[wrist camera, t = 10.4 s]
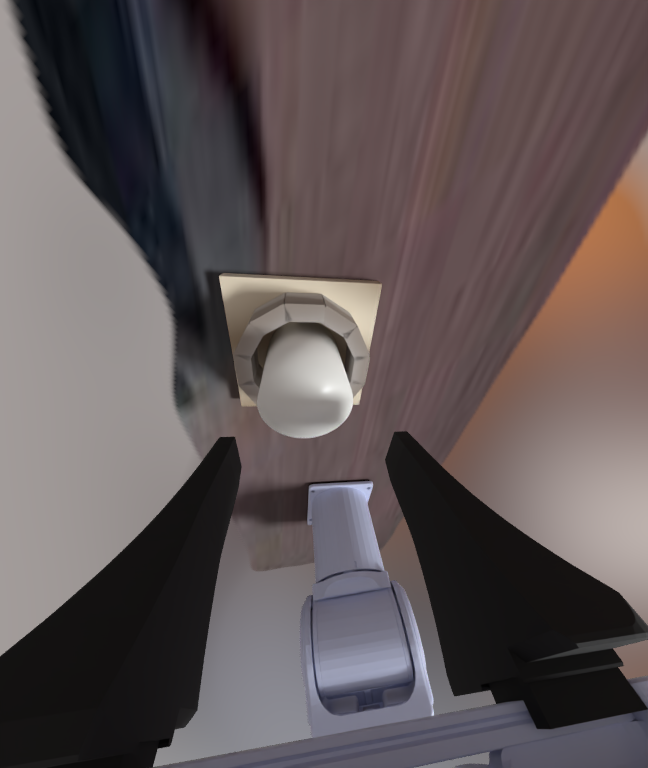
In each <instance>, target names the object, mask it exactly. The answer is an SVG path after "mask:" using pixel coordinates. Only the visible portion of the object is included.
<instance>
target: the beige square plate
mask: <svg viewBox="0 0 648 768" xmlns="http://www.w3.org/2000/svg"><path fill="white" fill-rule="evenodd" d="M219 279H220V285H221V291H222V297H223V302H224V308H225V314H226V319H227V325H228V331H229V336H230V342H231V348H232V354H233V359H234V365H235V371H236V376H237V382H238V388H239V393H240V399H241V405H242V406H257V399H258V393H259V389H260V384H261V379H262V375H263V370H264V365H265V361H266V356H267V351H268V347H269V343H270V340H271V337H272V336H273V334H274V333H275V332H276V330H277V329H278V328H280V327H281V326H282V325H284V324H286V323H288V322H317V323H319V324H321V325H323V326H324V327H326V328H327V329H328V330H329V331H330V333H331V334H332V336H333V337H334V339H335V342H336V345H337V348H338V351H339V354H340V357H341V360H342V363H343V366H344V369H345V372H346V375H347V378H348V381H349V384H350V387H351V390H352V394H353V405H359V401H360V396H361V391H362V387H363V386H364V385H365V381H366V376H367V371H368V366H369V360H370V354H369V350H370V344H371V339H372V334H373V329H374V324H375V318H376V313H377V308H378V303H379V298H380V293H381V287H382V284H381V283H380V282H379V281H371V280H351V279H331V278H312V277H292V276H273V275H253V274H233V273H222V274H221V275H220V276H219Z"/></svg>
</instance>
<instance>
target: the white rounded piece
mask: <svg viewBox="0 0 648 768" xmlns="http://www.w3.org/2000/svg"><path fill="white" fill-rule="evenodd" d="M257 406H258V411H259V413H260V416H261V417H262V419H263V421H264V422H265V423H266V424H267V425H268V426H269V427H270V428H272V429H273V430H275V431H276V432H278V433H281V434H283V435H286V436H289V437H295V438H312V437H317V436H321V435H324V434H327V433H329V432H331V431H333V430H334V429H336V428H337V427H339V426H340V425H341V424H342V423H343V422H344V421H345V420H346V419H347V417H348V416H349V414H350V412H351V409H352V406H353V394H352V390H351V387H350V384H349V381H348V378H347V375H346V372H345V369H344V366H343V363H342V360H341V357H340V354H339V351H338V348H337V345H336V342H335V339H334V337H333V336H332V334H331V333H330V331H329V330H328V329H327V328H326V327H324V326H323V325H321V324H319V323H317V322H288V323H286V324H284V325H282V326H281V327H280V328H278V329H277V330H276V332H275V333H274V334H273V336H272V337H271V340H270V343H269V347H268V351H267V356H266V361H265V365H264V370H263V375H262V379H261V384H260V389H259V393H258V399H257Z"/></svg>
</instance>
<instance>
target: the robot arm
mask: <svg viewBox="0 0 648 768" xmlns="http://www.w3.org/2000/svg"><path fill="white" fill-rule="evenodd" d="M385 461H386V465H387V469H388V473H389V477H390V481H391V483H392V486H393V489H394V491H395V494H396V497H397V499H398V502H399V504H400V507H401V509H402V512H403V514H404V517H405V519H406V522H407V525H408V527H409V530H410V532H411V535H412V538H413V541H414V544H415V548H416V551H417V554H418V558H419V561H420V565H421V568H422V572H423V575H424V579H425V583H426V586H427V590H428V594H429V598H430V602H431V606H432V610H433V614H434V618H435V622H436V627H437V631H438V636H439V640H440V645H441V649H442V653H443V658H444V663H445V668H446V673H447V677H448V679H449V683H450V686H451V689H452V692H453V694H454V696H460V695H465V694H471V693H476V692H482V691H488V690H491V692H492V694H493V697H494V699H495V702H496V704H493V705H488V706H482V707H477V708H472V709H466V710H461V711H456V712H450V713H445V714H439V715H434V710H433V706H432V705H433V702H434V701H433V695H432V691H431V687H430V683H429V680H428V675H427V671H426V662H425V656H424V651H423V647H422V643H421V639H420V635H419V631H418V627H417V624H416V621H415V617H414V614H413V611H412V608H411V605H410V602H409V600H408V597H407V594H406V592H405V590H404V588H403V587H402V586H401V585H400V584H398V582H397V581H395V580H393V581H390V580H389V576H388V572H387V571H384V567H383V563H382V559H381V555H380V552H379V548H378V544H377V540H376V536H375V532H374V528H373V524H372V520H371V516H370V512H369V508H368V505H367V503H368V500H369V497H370V494H371V491H372V487H373V483H372V482H371V481H360V482H342V483H324V484H311V485H310V486H309V495H308V515H307V524H308V525H313V542H314V560H315V576H316V584H313V585H312V590H313V595H309V596H307V598H306V601H305V603H304V604H303V606H302V610H301V619H300V656H301V668H302V676H303V682H304V686H305V692H306V703H307V717H308V723H309V725H310V726H311V735H312V737H313V738H310V739H304V740H299V741H293V742H288V743H282V744H277V745H272V746H267V747H261V748H255V749H250V750H245V751H239V752H234V753H228V754H223V755H217V756H212V757H207V758H201V759H196V760H190V761H185V762H179V763H174V764H169V765H163V766H158V767H153V764H154V760H155V756H156V752H157V749H158V748H163V747H169V746H170V745H171V742H172V738H173V734H174V730H175V729H179V728H184V727H185V726H186V725H187V724H188V723H189V721H190V720H191V718H192V717H193V716H194V714H195V712H196V711H197V708H198V700H199V692H200V685H201V677H202V670H203V663H204V655H205V649H206V641H207V635H208V629H209V622H210V616H211V609H212V603H213V597H214V591H215V585H216V579H217V574H218V568H219V563H220V558H221V553H222V549H223V545H224V541H225V537H226V533H227V530H228V526H229V522H230V518H231V515H232V511H233V507H234V503H235V500H236V496H237V492H238V487H239V480H240V474H241V462H240V457H239V453H238V448H237V444H236V439H235V437H220V438H219V439H218V440H217V441H216V443H215V444H214V446H213V447H212V448H211V450H210V451H209V453H208V454H207V455H206V457H205V458H204V459H203V461H202V462H201V463H200V465H199V466H198V467H197V469H196V470H195V471H194V473H193V474H192V475H191V476H190V478H189V479H188V480H187V481H186V483H185V484H184V485H183V486H182V487H181V489H180V490H179V491H178V492H177V493H176V495H175V496H174V497H173V498H172V499H171V500H170V502H169V503H168V504H167V505H166V506H165V507H164V508H163V510H162V511H161V512H160V513H159V514H158V515H157V516H156V517H155V518H154V519H153V520H152V521H151V522H150V524H149V525H148V526H147V527H146V528H145V529H144V530H143V531H142V532H141V533H140V534H139V535H138V536H137V537H136V538H135V539H134V540H133V541H132V542H131V543H130V544H129V545H128V546H127V547H126V548H125V549H124V550H123V551H122V552H120V554H118V556H116V557H115V558H114V559H113V560H112V561H111V562H110V563H109V564H108V565H107V566H106V567H105V568H104V569H103V570H101V571H100V572H99V573H98V574H97V575H96V576H95V577H94V578H93V579H91V580H90V581H89V582H88V583H87V584H86V585H85V586H83V587H82V588H81V589H80V590H79V591H78V592H77V593H76V594H74V595H73V596H72V597H71V598H70V599H69V600H68V601H66V602H65V603H64V604H63V605H62V606H61V607H60V608H58V609H57V610H56V611H55V612H54V613H53V614H51V615H50V616H49V617H48V618H47V619H45V620H44V621H43V622H42V623H41V624H39V625H38V626H37V627H36V628H34V629H33V630H32V631H31V632H30V633H28V634H27V635H26V636H25V637H23V638H22V639H21V640H20V641H18V642H17V643H16V644H15V645H14V646H12V647H11V648H10V649H9V650H8V651H6V652H5V653H4V654H3V655H1V656H0V768H414V767H418V766H423V765H428V764H432V763H437V762H442V761H446V760H452V759H456V758H461V757H466V756H471V755H475V754H480V753H485V752H490V753H489V758H490V761H489V765H487V764H463V765H459V766H455V767H453V768H648V676H643V677H638V678H632V679H626V678H625V676H624V675H623V674H622V672H621V671H620V669H619V668H618V667H620V666H623V662H622V661H621V659H620V658H619V657H618V655H617V654H616V652H615V651H614V650H613V648H616V647H620V646H624V645H628V644H632V643H636V642H640V641H644V640H648V625H647V624H646V623H645V622H644V621H643V620H642V619H641V617H640V616H639V615H638V614H637V613H636V612H635V610H634V609H633V608H632V607H631V606H630V605H629V604H628V602H627V601H626V600H625V599H624V598H623V597H622V596H621V595H620V593H619V592H617V591H615V590H613V589H612V588H610V587H609V586H607V585H605V584H603V583H602V582H600V581H599V580H597V579H595V578H593V577H592V576H590V575H588V574H587V573H585V572H583V571H582V570H580V569H578V568H576V567H575V566H573V565H572V564H570V563H568V562H567V561H565V560H563V559H562V558H560V557H559V556H557V555H556V554H554V553H553V552H551V551H550V550H548V549H547V548H545V547H543V546H542V545H540V544H539V543H537V542H536V541H535V540H533V539H532V538H530V537H529V536H527V535H526V534H524V533H523V532H522V531H520V530H518V529H517V528H516V527H514V526H513V525H512V524H510V523H509V522H507V521H506V520H504V519H503V518H502V517H501V516H499V515H498V514H497V513H495V512H494V511H493V510H492V509H490V508H489V507H488V506H487V505H485V504H484V503H483V502H482V501H480V500H479V499H478V498H477V497H475V496H474V495H473V494H472V493H471V492H469V491H468V490H467V489H466V488H465V487H464V486H463V485H461V484H460V483H459V482H458V481H457V480H456V479H454V477H453V476H451V475H450V474H449V473H448V472H447V471H446V470H445V469H444V468H443V467H442V466H441V465H440V464H439V463H438V462H437V461H436V460H435V459H434V458H433V457H432V456H431V455H430V454H429V453H428V452H427V451H426V450H425V449H424V448H423V447H422V446H421V445H420V444H419V443H418V442H417V441H416V440H415V439H414V438H413V437H412V436H411V435H410V434H409V433H408V432H407V431H405V432H394V435H393V438H392V441H391V444H390V447H389V450H388V453H387V456H386V459H385Z"/></svg>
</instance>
